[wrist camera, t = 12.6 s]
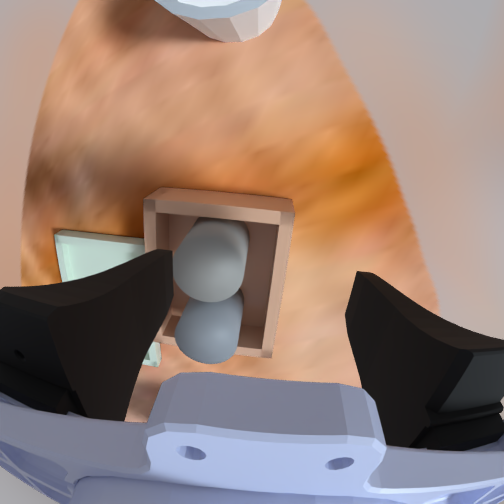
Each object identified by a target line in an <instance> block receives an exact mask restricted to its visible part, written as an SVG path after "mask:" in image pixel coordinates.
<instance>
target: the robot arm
mask: <svg viewBox="0 0 504 504" xmlns="http://www.w3.org/2000/svg"><path fill="white" fill-rule="evenodd" d="M173 296H174V287H173V251H172V250H164V249H155V250H152V251H150V252H147V253H145V254H143V255H140V256H138V257H136V258H134V259H132V260H129V261H127V262H125V263H123V264H120V265H118V266H115V267H113V268H110V269H108V270H105V271H103V272H100V273H97V274H94V275H91V276H87V277H84V278H80V279H76V280H71V281H66V282H62V283H56V284H49V285H41V286H27V287H3V288H2V289H1V290H0V466H1V467H2V468H4V469H5V470H7V471H8V472H9V473H11V474H13V475H14V476H15V477H17V478H18V479H20V480H21V481H23V482H24V483H26V484H27V485H29V486H31V487H32V488H34V489H35V490H37V491H39V492H40V493H42V494H44V495H46V496H47V497H49V498H51V499H53V500H54V501H56V502H58V503H60V504H497V503H499V502H501V501H503V500H504V420H502V418H501V416H500V414H499V413H501V412H502V411H503V405H502V404H501V402H500V401H501V399H502V398H503V397H504V340H501V339H497V338H493V337H489V336H485V335H482V334H479V333H476V332H473V331H470V330H468V329H465V328H463V327H460V326H458V325H456V324H453V323H451V322H449V321H447V320H445V319H443V318H441V317H439V316H437V315H435V314H433V313H432V312H430V311H428V310H426V309H425V308H423V307H422V306H420V305H418V304H417V303H415V302H414V301H412V300H411V299H409V298H408V297H407V296H405V295H404V294H402V293H401V292H400V291H398V290H397V289H395V288H394V287H393V286H391V285H390V284H389V283H387V282H386V281H384V280H383V279H381V278H380V277H378V276H377V275H375V274H373V273H370V272H361V271H357V273H356V276H355V280H354V284H353V288H352V291H351V295H350V299H349V302H348V306H347V309H346V313H345V319H346V327H347V333H348V338H349V341H350V345H351V348H352V352H353V355H354V358H355V362H356V365H357V369H358V372H359V376H360V380H361V385H362V388H358V387H353V386H348V385H344V384H339V383H320V382H301V381H287V380H274V379H263V378H254V377H245V376H236V375H228V374H221V373H214V372H192V373H179V374H177V375H175V376H174V377H172V378H170V379H168V380H166V381H164V382H162V384H161V387H160V390H159V392H158V395H157V398H156V400H155V403H154V406H153V408H152V411H151V414H150V416H149V419H148V422H147V423H139V422H124V420H125V417H126V413H127V409H128V405H129V402H130V398H131V395H132V392H133V389H134V386H135V382H136V380H137V377H138V374H139V371H140V368H141V365H142V363H143V361H144V358H145V356H146V354H147V352H148V350H149V348H150V346H151V344H152V343H153V341H154V339H155V337H156V335H157V333H158V331H159V329H160V327H161V326H162V324H163V322H164V320H165V318H166V316H167V314H168V311H169V308H170V305H171V302H172V299H173Z"/></svg>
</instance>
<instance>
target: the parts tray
mask: <svg viewBox="0 0 504 504" xmlns="http://www.w3.org/2000/svg"><path fill="white" fill-rule="evenodd" d="M54 237H55V244H56V250H57V256H58V262H59V267H60V273H61V278H62V282H66V281H71V280H76V279H80V278H84V277H87V276H91V275H94V274H97V273H100V272H103V271H105V270H108V269H110V268H113V267H115V266H118V265H120V264H123V263H125V262H127V261H129V260H132V259H134V258H136V257H138V256H140V255H143V254H145V241H144V239H143V238H134V237H125V236H116V235H107V234H98V233H89V232H80V231H71V230H61V231H59V232H58V233H56V234H55V235H54ZM161 359H162V358H161V349H160V343H158V342H153V343H152V344H151V346H150V348H149V350H148V352H147V354H146V356H145V358H144V361H143V363H142V364H145V365H149V366H154V367H158V366H159V364H160V361H161Z"/></svg>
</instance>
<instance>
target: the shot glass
mask: <svg viewBox="0 0 504 504" xmlns="http://www.w3.org/2000/svg"><path fill="white" fill-rule="evenodd" d="M155 1H156V2H158V3H159V4H160V5H162V6H163V7H164V8H166V9H167V10H168V11H170V12H171V13H172V14H174V15H176V16H177V17H179V18H181V19H182V20H184V21H185V22H187V23H188V24H190V25H192V26H193V27H195V28H196V29H198V30H199V31H201V32H202V33H204V34H205V35H206V36H208V37H209V38H212V39H216V40H219V41H222V42H243V41H246V40H249V39H252V38H255V37H258V36H259V35H260V34H262V33H263V32H264V31H265V30H267V29H268V28H269V27H270V26H271V25H272V23H273V21H274V19H275V17H276V15H277V13H278V10H279V7H280V4H281V1H282V0H155Z"/></svg>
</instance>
